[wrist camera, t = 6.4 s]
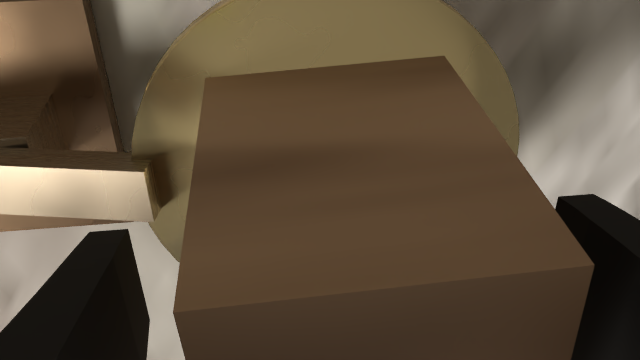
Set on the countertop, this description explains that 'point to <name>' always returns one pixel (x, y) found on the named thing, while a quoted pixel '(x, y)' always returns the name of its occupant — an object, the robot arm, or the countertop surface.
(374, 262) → the walnut block
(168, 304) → the countertop surface
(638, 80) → the countertop surface
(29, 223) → the balance
